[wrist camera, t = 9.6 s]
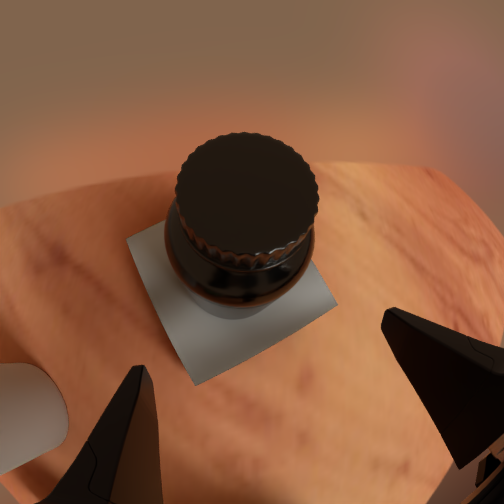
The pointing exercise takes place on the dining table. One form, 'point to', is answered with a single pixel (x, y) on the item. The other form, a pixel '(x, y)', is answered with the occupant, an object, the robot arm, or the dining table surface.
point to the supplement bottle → (241, 223)
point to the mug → (28, 415)
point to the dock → (213, 328)
